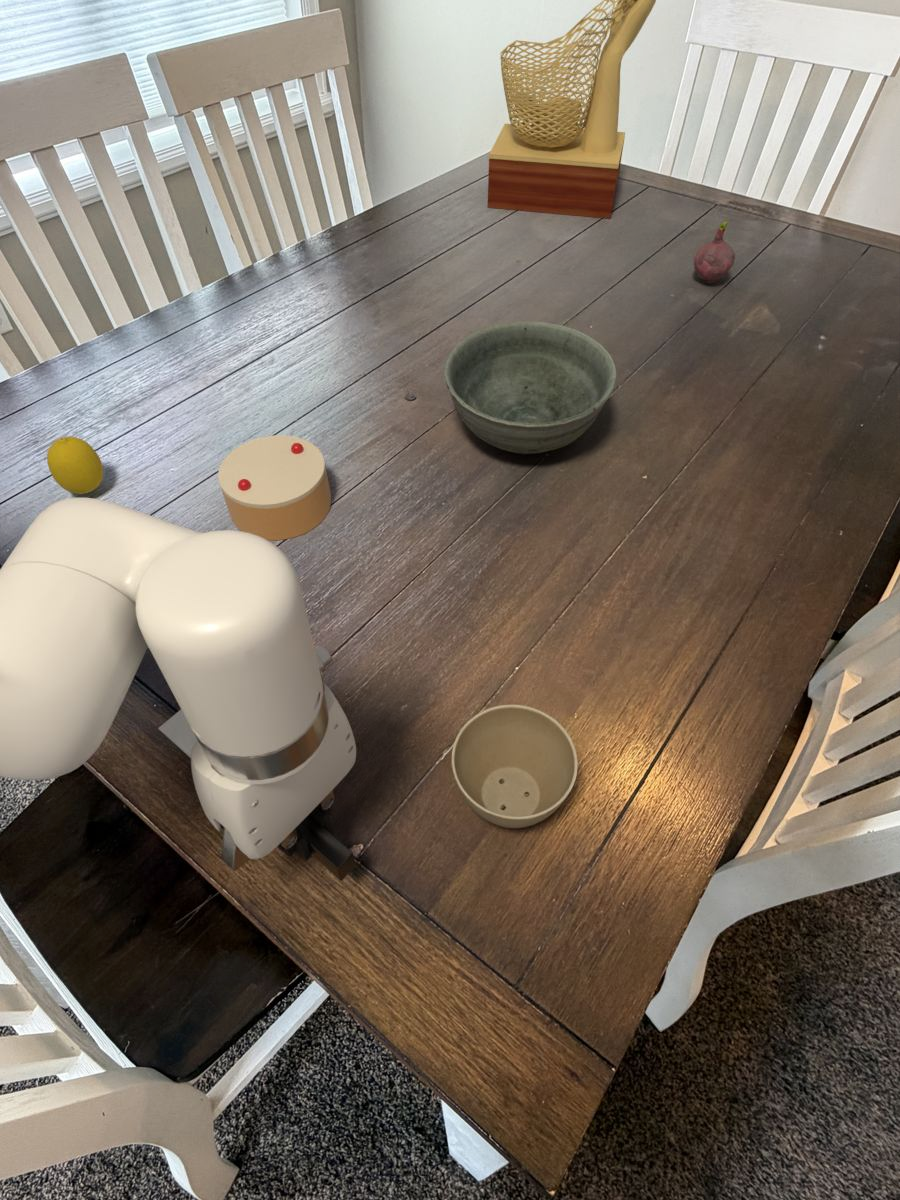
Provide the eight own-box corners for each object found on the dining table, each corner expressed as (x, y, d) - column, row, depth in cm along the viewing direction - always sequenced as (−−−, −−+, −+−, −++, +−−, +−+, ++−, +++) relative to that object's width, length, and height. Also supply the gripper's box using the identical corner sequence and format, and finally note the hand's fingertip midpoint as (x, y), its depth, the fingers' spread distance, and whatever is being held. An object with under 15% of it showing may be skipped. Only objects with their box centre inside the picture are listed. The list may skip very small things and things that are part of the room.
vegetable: (683, 286, 119) (699, 223, 112) (696, 270, 123) (712, 208, 115) (719, 296, 117) (738, 232, 110) (731, 280, 121) (750, 217, 113)
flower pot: (510, 725, 68) (515, 683, 62) (591, 801, 63) (604, 763, 58) (428, 791, 64) (425, 752, 58) (507, 878, 59) (513, 845, 53)
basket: (626, 184, 145) (664, -48, 118) (618, 223, 134) (659, -24, 107) (502, 173, 149) (513, -54, 122) (485, 211, 138) (493, -30, 111)
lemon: (56, 504, 87) (26, 451, 81) (79, 474, 91) (51, 421, 85) (99, 509, 87) (72, 456, 81) (120, 479, 90) (95, 426, 84)
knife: (334, 888, 54) (330, 877, 52) (158, 730, 62) (149, 714, 60) (362, 857, 56) (359, 845, 54) (187, 706, 64) (179, 690, 62)
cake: (208, 510, 87) (193, 467, 82) (283, 458, 92) (273, 416, 87) (278, 556, 82) (266, 514, 77) (352, 498, 88) (345, 456, 83)
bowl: (626, 412, 98) (641, 345, 90) (567, 508, 86) (577, 440, 79) (488, 371, 104) (490, 305, 97) (415, 455, 93) (411, 388, 85)
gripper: (313, 601, 48) (342, 738, 62) (107, 773, 40) (194, 884, 54) (400, 661, 45) (409, 790, 59) (195, 859, 37) (262, 953, 51)
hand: (306, 834), depth 57 cm, fingers closed on knife
